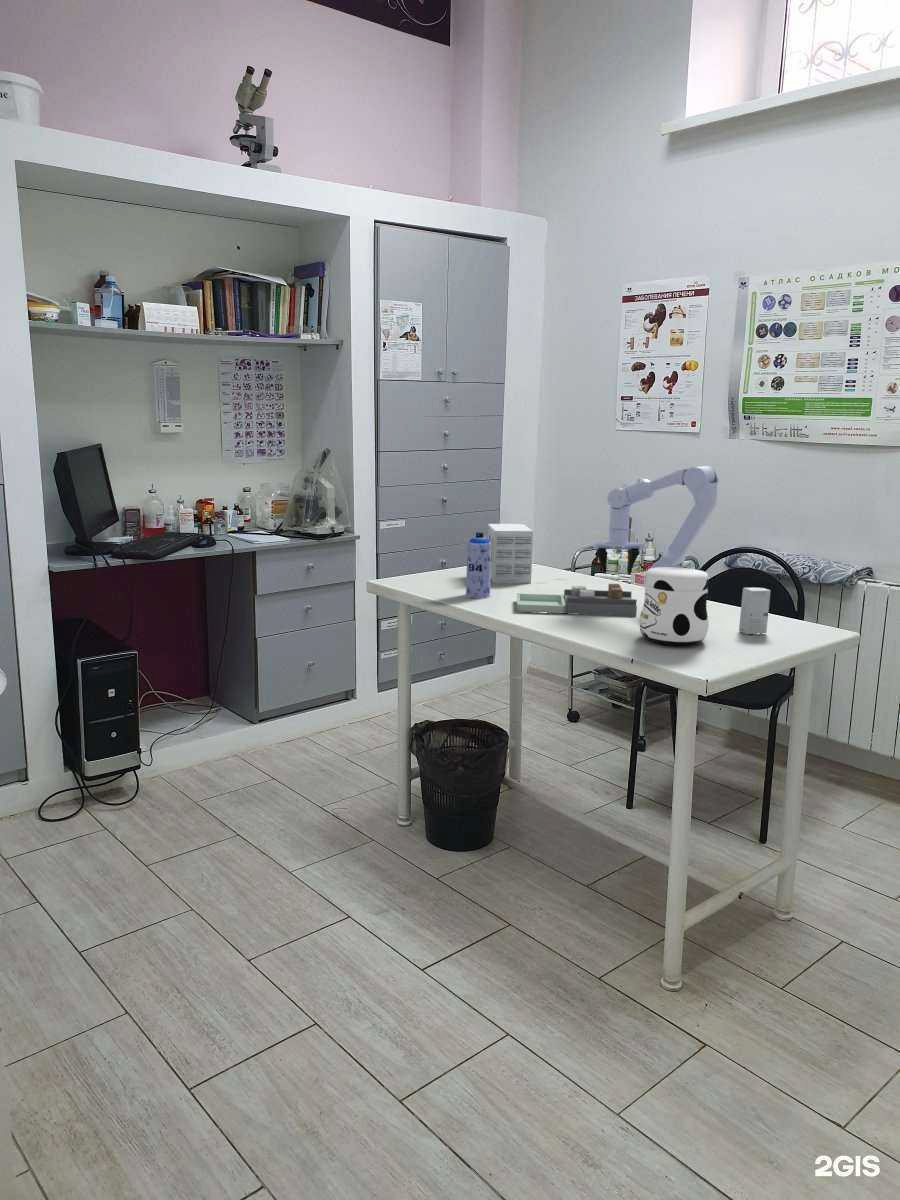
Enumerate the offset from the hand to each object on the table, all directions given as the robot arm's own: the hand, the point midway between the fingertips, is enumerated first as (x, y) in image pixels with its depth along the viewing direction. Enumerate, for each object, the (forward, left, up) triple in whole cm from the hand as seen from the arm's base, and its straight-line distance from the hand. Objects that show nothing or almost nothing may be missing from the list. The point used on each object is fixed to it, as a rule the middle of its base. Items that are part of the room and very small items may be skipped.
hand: (616, 573), depth 275 cm
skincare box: (-42, -18, -10) cm, 47 cm away
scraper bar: (-7, +5, -7) cm, 11 cm away
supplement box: (+46, +15, -10) cm, 49 cm away
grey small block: (-1, +13, -5) cm, 14 cm away
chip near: (-6, +13, -5) cm, 16 cm away
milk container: (-43, +8, -10) cm, 45 cm away
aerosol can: (+22, +36, -10) cm, 43 cm away
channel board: (-6, +9, -10) cm, 14 cm away
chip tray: (+1, +24, -10) cm, 26 cm away
